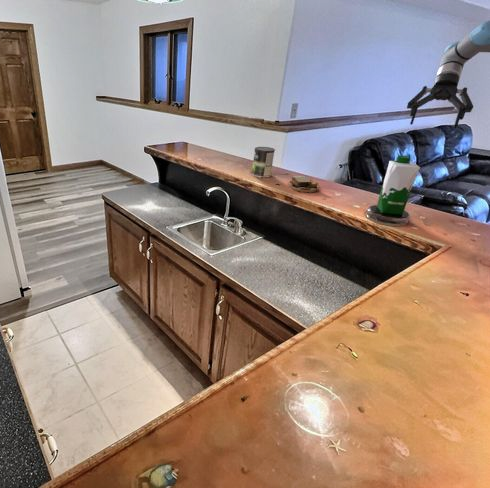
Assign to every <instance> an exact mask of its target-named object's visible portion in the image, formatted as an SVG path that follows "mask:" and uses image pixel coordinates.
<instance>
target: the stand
mask: <svg viewBox="0 0 490 488" xmlns="http://www.w3.org/2000/svg"><path fill="white" fill-rule="evenodd" d="M365 217H366V219H367V220H368V221H370V222H373V223H375V224H379V225H382V226H385V227H396V228H397V227H398V228H399V227H405V226H407V225H408V222H409V219H410V217H411V214H410V213H409V212H408V211H406V210H405V209H404V212H403V215H401V214H390V213H382V212H381V211H380V210H379V208H378V207H377V204H373V205H370V206H368V207H367V210H366V214H365Z"/></svg>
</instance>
